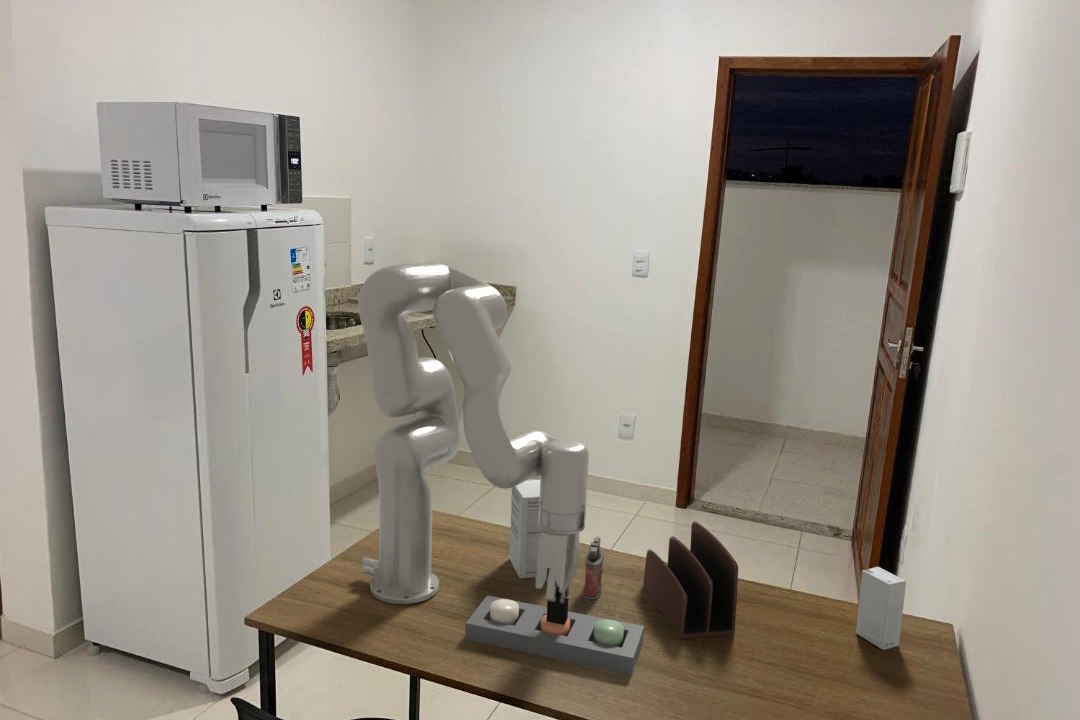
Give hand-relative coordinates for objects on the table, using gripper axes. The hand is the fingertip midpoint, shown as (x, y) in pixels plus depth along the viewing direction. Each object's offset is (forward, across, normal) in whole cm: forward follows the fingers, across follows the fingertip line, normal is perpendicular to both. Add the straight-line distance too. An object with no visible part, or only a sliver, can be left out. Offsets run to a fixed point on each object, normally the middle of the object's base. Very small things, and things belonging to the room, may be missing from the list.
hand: (556, 620), depth 131 cm
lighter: (+4, -19, +2) cm, 20 cm away
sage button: (+2, 0, +9) cm, 9 cm away
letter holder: (+4, -19, +19) cm, 28 cm away
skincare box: (+4, -21, +52) cm, 56 cm away
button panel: (+4, 0, 0) cm, 4 cm away
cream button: (+2, 0, -9) cm, 10 cm away
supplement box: (+4, -25, -11) cm, 28 cm away
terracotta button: (+3, 0, 0) cm, 3 cm away
